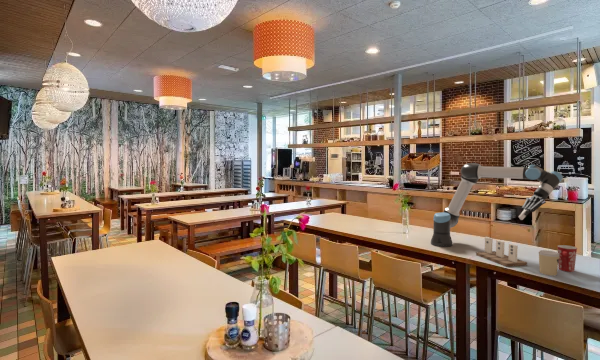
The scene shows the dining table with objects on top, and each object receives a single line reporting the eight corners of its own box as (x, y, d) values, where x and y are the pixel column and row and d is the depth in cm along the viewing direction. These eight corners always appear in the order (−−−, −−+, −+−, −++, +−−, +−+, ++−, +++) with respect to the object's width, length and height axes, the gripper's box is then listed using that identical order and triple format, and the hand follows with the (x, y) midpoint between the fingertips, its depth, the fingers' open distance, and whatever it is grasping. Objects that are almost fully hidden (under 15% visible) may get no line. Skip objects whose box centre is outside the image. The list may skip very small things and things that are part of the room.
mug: (558, 266, 203) (559, 244, 203) (577, 270, 196) (578, 247, 196) (552, 271, 195) (553, 247, 194) (572, 275, 188) (573, 250, 187)
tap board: (476, 255, 229) (476, 252, 229) (494, 253, 231) (494, 251, 231) (506, 266, 203) (506, 263, 203) (526, 265, 206) (526, 262, 206)
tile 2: (495, 255, 219) (495, 240, 219) (497, 255, 220) (498, 240, 219) (501, 257, 214) (501, 242, 214) (504, 257, 215) (504, 241, 214)
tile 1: (484, 251, 229) (484, 236, 229) (486, 251, 229) (486, 236, 229) (489, 253, 224) (490, 238, 224) (492, 253, 225) (492, 238, 224)
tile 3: (507, 260, 210) (508, 244, 209) (510, 259, 210) (510, 243, 209) (514, 262, 205) (514, 246, 204) (517, 262, 205) (517, 245, 204)
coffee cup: (562, 276, 186) (563, 255, 185) (542, 275, 187) (543, 254, 187) (553, 271, 195) (553, 250, 194) (534, 270, 197) (535, 249, 196)
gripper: (555, 196, 215) (532, 224, 213) (537, 194, 228) (515, 220, 226) (549, 188, 214) (525, 216, 212) (531, 187, 227) (508, 212, 224)
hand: (520, 218), depth 219 cm, fingers closed
